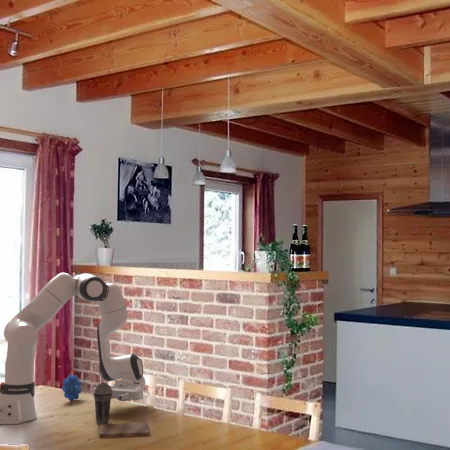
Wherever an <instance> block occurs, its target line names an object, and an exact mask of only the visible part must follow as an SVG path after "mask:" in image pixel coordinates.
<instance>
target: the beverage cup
mask: <svg viewBox="0 0 450 450" xmlns="http://www.w3.org/2000/svg"><path fill="white" fill-rule="evenodd" d="M100 380H101V383H99V384H97V385H96V386H95V387H96V388H95V387H94V388H95V390H94V396H93V398H94V408H95V411H94V412H95V422H96V425H98V426H100V424H109V419H110V411H111V404H112V403H111V401H112V400H111V399H112V398H111V397H112V389H111V387H110V386H111V385H110V384H108V383H106V382H103V381H104V379H103V378H102V372H101V376H100Z"/></svg>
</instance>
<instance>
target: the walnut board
mask: <svg viewBox="0 0 450 450" xmlns="http://www.w3.org/2000/svg"><path fill="white" fill-rule="evenodd" d="M98 429H99V432H98V433H99V434H98V435H99V436H98V438H122V437H123V438H124V437H125V438H126V437H127V438H128V437H129V438H130V437H149V436H150V429H149V424H148V422H126V423H125V422H124V423H123V422H122V423H121V422H120V423H119V422H118V423H108V424H100V425H99V428H98Z"/></svg>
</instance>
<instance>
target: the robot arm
mask: <svg viewBox="0 0 450 450" xmlns="http://www.w3.org/2000/svg"><path fill="white" fill-rule="evenodd" d="M73 297H77V298H79V299H80V300H84V301H88V302H97V305H98V307H99V312H100V322H99V323H98V324H97V326H96V327H97V328H96V338H97V349H98V350H97V351H98V360H99V361H98V373H99V375H100V377H101V372H102V378H103V381H104V380H105V381H107V382H109V383H110V382H113V381H116V380H117V381H116V382H115V383H114V384H113V385H109V386H110V387H111V389H112V397H111V399H115V400H117V401H118V402H119V401H120V402H127V401H140V400H143V399H144V389H145V387H146V380H145V376H144V365H143V361H142V360H141V358H140V357H139V356H138V355H136V354H135V353H130V354H124V355H119V356H112V355H111V347H110V346H111V345H110V336H111V335H112V334H113V333H115V332H116V331H118V330H120V329H121V328H122V327H123V326H125V324H126V323H127V320H128V317H129V316H128V309H127V306H126V305H127V304H126V302H125V298H124V296H123V293H122V292H121V289H120V287H119V286H118V285H117V284H116V283H112V282H110V283H106V282H105V281H104V280H103V279H102V278H101V277H100V276H97V275H95V274H93V273H89V272H87V273H86V272H81V273H78V274H76V275H71V274H69V273H66V272H59V273H58V274H56V275H55V276H54V277H52V279H51V280H49V281H48V282H47V283H46V284H45V285H44V286H43V287H42V289H41V290H40V291H39V292H37V294H36V295H35V296H34V297H33V298H32V299H31V300H30V302H28V304H26V305H25V306H24V307H23V308H22V309H21V310H20V311H19V312H18V313H17V314H16V315H14V317H13V318H11V320H9V321H8V323H6V324H5V327H4V330H3V337H4V339H5V341H6V342H7V350H6V351H7V352H6V357H5V363H4V364H5V365H4V382H3V381H2V382H0V425H18V424H21V423H26V422H30V421H33V420H35V419H37V418H38V416H37V411H36V410H37V409H36V406H35V405H36V404H35V394H36V385H35V381H34V378H35V376H34V375H35V373H34V372H35V358H36V351H37V344H38V331H39V330H41V329H42V328H43V327H44V326H45V325H46V324H48V323H49V322H51V320H52V319H53V318H55V316H56V315H57V314H58V313H59V311H60V310H61V309H62V308H63V307H64V306H65V304H66V303H67V302H68V301H69V300H70V299H71V298H73ZM95 388H96V386H95V387H93V389H92V396H93V397H94V390H95Z"/></svg>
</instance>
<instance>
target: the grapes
mask: <svg viewBox="0 0 450 450" xmlns="http://www.w3.org/2000/svg"><path fill="white" fill-rule="evenodd" d="M81 386H82V382H81V380H80V379H79V377H78V376H77V374H76V375H73V374H68V375H67V378H64V379H63V386H62V388H61V390H62V392H64V393H63V396H64V398H65V399H68V401H69V402H73V401H74V400H78V399H79V397H80V395H79V394H81V393H82V390H83V389H82V388H81Z"/></svg>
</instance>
